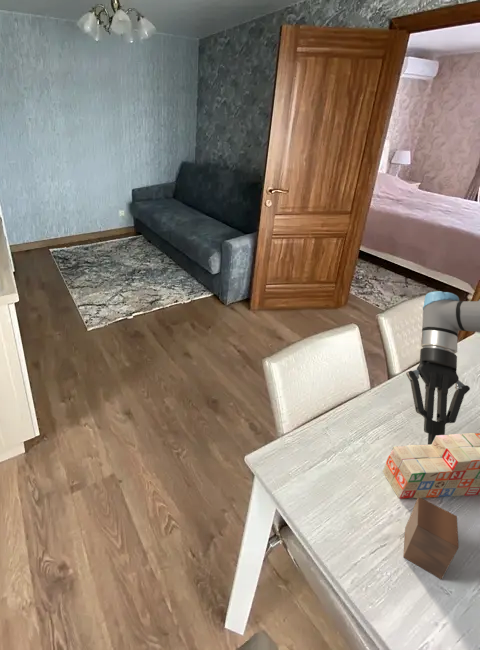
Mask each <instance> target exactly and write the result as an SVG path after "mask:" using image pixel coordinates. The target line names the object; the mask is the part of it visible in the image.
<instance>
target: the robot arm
mask: <svg viewBox="0 0 480 650" xmlns="http://www.w3.org/2000/svg"><path fill="white" fill-rule="evenodd" d="M421 326H422V327H421V338H420V339H421V340H420V347H421V349H420V351H419V364H418V366H417V367H416V369H414V370H409V371H406V373H405V374H406V376H407V378H408V380H409V383H410V387H411V393H412V399H413V402H414V403H413V404H414V409H415V413H417V414H419V415H421V416H422V417H423V419H424V420H423V431H424V433H426V434H427V445H431V444H432V442H433V440H434V438H435V437H436V435H446V425H447V424H455V423H456V421H457V418H458V415H459V412H460V410H461V406H462V403H463V401H464V397H465V395H466V394H467V393H468V392H469V391H470V389H471V388H470V386H469V385H466V384H464V383H463V381H460V378H459V376H458V374H457V373H458V372H457V370H458V369H457V367H458V356H457V353H458V337H459V331H461V332H462V331H463V332H475V333H480V298H479V299H478V300H477V301H476V300H475V301H474V300H473V301H472V300H470V301H468V300H467V301H464V300H460V298H459V296H458V295H457V294H455V293H453V292H449V291H442V290H439V291H438V290H436V291H429V292H428V293H426V295H425V296H424V301H423V307H422V325H421ZM420 378H421V380H422V381H423V383H424V390H425V394H424V402H423V397H422V391H421V386H420V381H419V379H420ZM454 385H455V386H454ZM453 386H454V389H455V391H454V394H453V396H452V399H451V402H450V404H449V407H448V394H449V390H450V388H451V387H453ZM436 393H437V399H436V401H437V402H436V420H434V412H435V409H434V408H435V394H436Z"/></svg>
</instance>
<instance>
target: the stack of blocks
mask: <svg viewBox="0 0 480 650" xmlns="http://www.w3.org/2000/svg"><path fill="white" fill-rule="evenodd" d="M382 474H384V476H385V478H386V479H387V481H388V483H389V484H390V487H391V488H392V489H393V491H394V493H395V495H396V496H397V498H398V499H401V500H402V499H418V497H420V498H422V499H424V498H427V499H429V498H441V497H457V496H459V497H460V496H465V497H466V496H467V497H468V496H469V497H470V496H480V432H478V433H477V432H476V433H474V432H466V433H464V432H463V433H452V434H450V433H449V434H445V435H436V437H435V438H434V440H433V442H432V444H431V445H428V444H408V445H394V446H393V447H392V448H391V451H390V454H389V455H388V457H387V459H386V462H385V465H384V467H383V469H382Z"/></svg>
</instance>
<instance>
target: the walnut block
mask: <svg viewBox="0 0 480 650" xmlns="http://www.w3.org/2000/svg"><path fill="white" fill-rule="evenodd" d="M458 528H459V527H458V516H457V515H456V514H454V513H451V512H449V511H448V510H446V509H443V508H441V507H440V506H438V505H436V504H434V503H432V502H430V501H428V500H426V499H424V498H420V497H418V498H416V501H415V504H414V505H413V508H412V510H411V513H410V516H409V518H408V521H407V523H406V525H405V527H404V539H403V540H404V542H403V555H402V556H403V558H404V559H405V560H407V561H409V562H411V563H412V564H414V565H416V566H418V567H419V568H420V569H422V570H424V571H426V572H427V573H430V574H431V575H433V576H434V577H436V578H438V579H439V580H443V578H444V576H445V574H446V572H447V571H448V569H449V567H450V566H451V563H452V561H453V559H454V558H455V556H456V554H457V551H458V550H459V548H460V546H459V545H460V543H459V530H458Z"/></svg>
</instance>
